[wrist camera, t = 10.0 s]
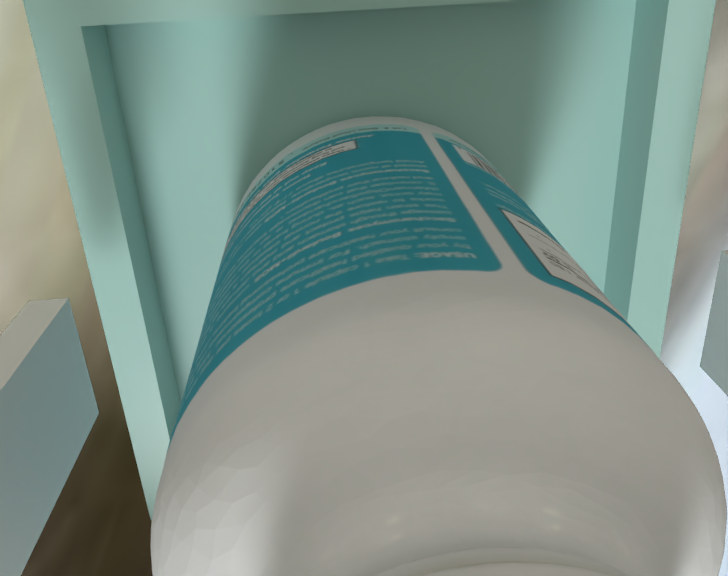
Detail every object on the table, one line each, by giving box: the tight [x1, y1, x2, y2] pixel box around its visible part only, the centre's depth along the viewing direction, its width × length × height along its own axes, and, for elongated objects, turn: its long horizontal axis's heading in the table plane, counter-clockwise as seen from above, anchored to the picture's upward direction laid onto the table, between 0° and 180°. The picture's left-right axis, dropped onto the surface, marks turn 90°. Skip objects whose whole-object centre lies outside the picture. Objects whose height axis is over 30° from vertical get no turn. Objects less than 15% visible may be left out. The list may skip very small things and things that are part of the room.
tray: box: [23, 0, 716, 520], centre depth 18 cm, size 14×14×2 cm
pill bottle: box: [151, 116, 727, 576], centre depth 12 cm, size 8×7×14 cm
